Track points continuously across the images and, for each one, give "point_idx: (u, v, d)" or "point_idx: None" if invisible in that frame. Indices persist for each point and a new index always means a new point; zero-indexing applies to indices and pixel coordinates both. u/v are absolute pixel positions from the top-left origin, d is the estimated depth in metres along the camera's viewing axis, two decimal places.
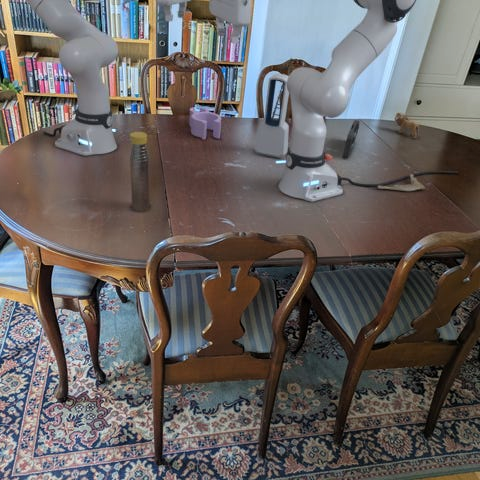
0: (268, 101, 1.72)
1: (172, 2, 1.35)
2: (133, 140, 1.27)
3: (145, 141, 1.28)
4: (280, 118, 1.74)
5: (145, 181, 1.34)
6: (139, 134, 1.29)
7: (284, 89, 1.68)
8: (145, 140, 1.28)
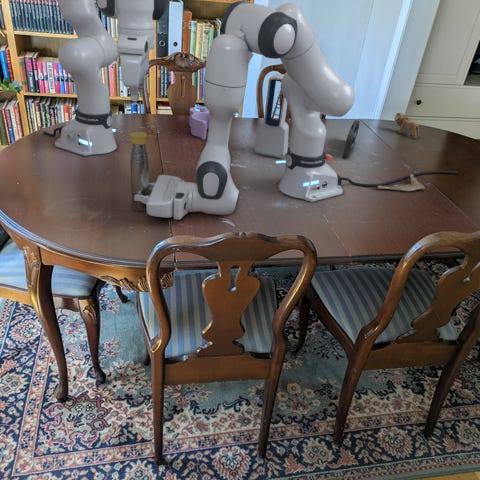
0: (268, 101, 1.72)
1: (140, 81, 1.15)
2: (133, 140, 1.27)
3: (145, 141, 1.28)
4: (280, 118, 1.74)
5: (145, 181, 1.34)
6: (139, 134, 1.29)
7: None
8: (145, 140, 1.28)
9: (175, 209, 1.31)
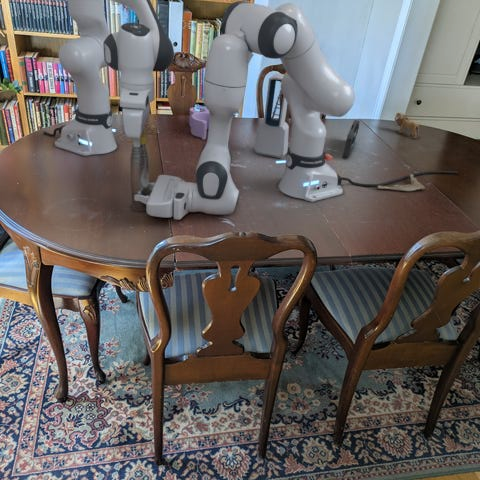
0: (268, 101, 1.72)
1: (141, 132, 1.21)
2: None
3: (145, 141, 1.28)
4: (280, 118, 1.74)
5: (145, 181, 1.34)
6: None
7: None
8: (145, 140, 1.28)
9: (175, 209, 1.31)
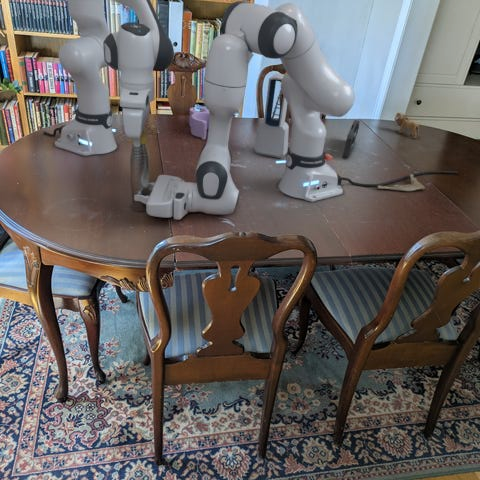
0: (268, 101, 1.72)
1: (141, 132, 1.21)
2: (144, 139, 1.28)
3: None
4: (280, 118, 1.74)
5: (145, 181, 1.34)
6: None
7: None
8: None
9: (175, 209, 1.31)
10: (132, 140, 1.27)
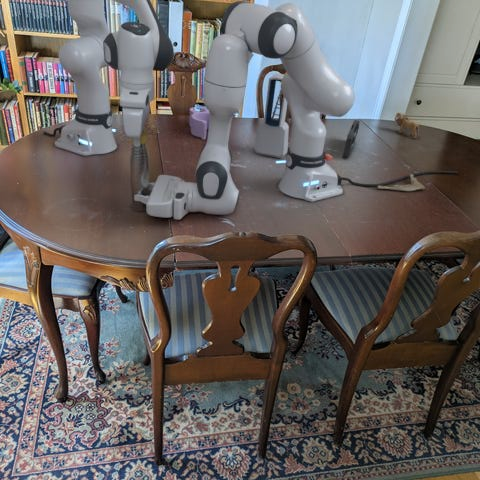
0: (268, 101, 1.72)
1: (141, 131, 1.21)
2: None
3: None
4: (280, 118, 1.74)
5: (145, 181, 1.34)
6: None
7: None
8: None
9: (175, 209, 1.31)
10: (144, 140, 1.28)
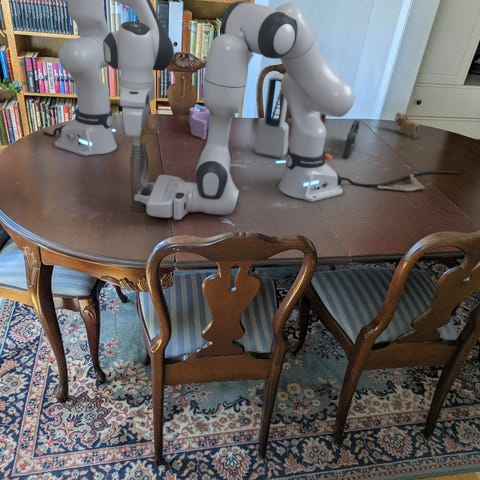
0: (268, 101, 1.72)
1: (141, 131, 1.21)
2: None
3: (132, 139, 1.27)
4: (280, 118, 1.74)
5: (145, 181, 1.34)
6: None
7: None
8: (132, 139, 1.27)
9: (175, 209, 1.31)
10: None
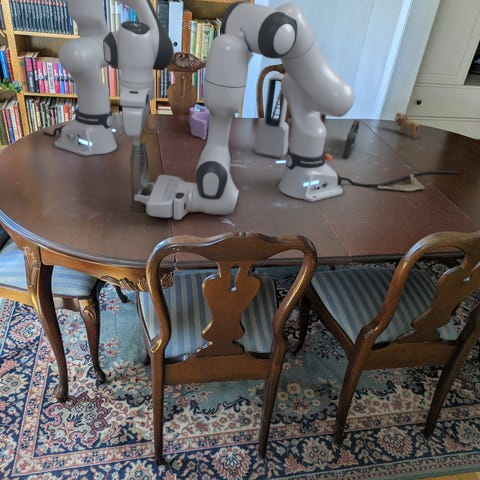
0: (268, 101, 1.72)
1: (141, 130, 1.21)
2: (132, 138, 1.27)
3: (144, 140, 1.28)
4: (280, 118, 1.74)
5: (145, 181, 1.34)
6: None
7: None
8: (144, 139, 1.28)
9: (175, 209, 1.31)
10: None
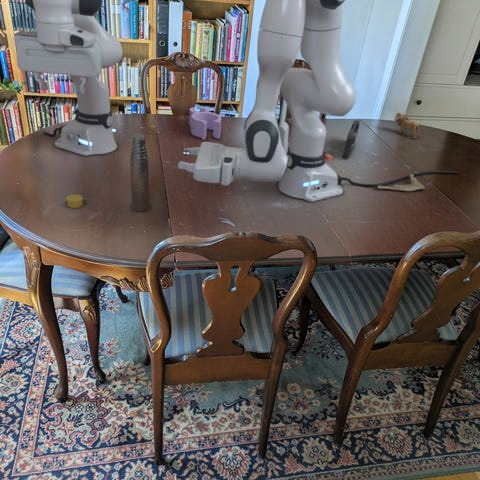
0: None
1: None
2: (79, 203, 1.37)
3: None
4: (280, 118, 1.74)
5: (145, 181, 1.34)
6: (74, 197, 1.38)
7: None
8: None
9: (223, 174, 1.24)
10: (67, 203, 1.37)
